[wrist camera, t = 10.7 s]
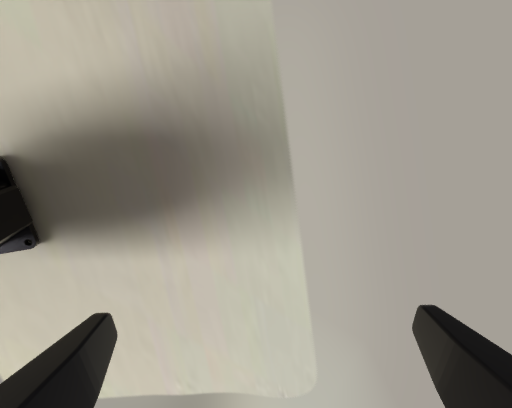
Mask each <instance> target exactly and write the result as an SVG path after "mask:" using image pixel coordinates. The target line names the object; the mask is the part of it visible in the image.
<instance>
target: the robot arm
mask: <svg viewBox="0 0 512 408" xmlns="http://www.w3.org/2000/svg"><path fill="white" fill-rule="evenodd" d="M27 239H29V240H31V241H32V243H29V242H28V240H27ZM38 244H39V238H38V236H37V233H36V231H35V229H34V226H33V224H32V219H31V216H30V214H29V212H28V209H27V207H26V205H25V202H24V200H23V198H22V195H21V193H20V190H19V188H17V186H16V184H15V181H14V179H13V177H12V174H11V172H10V170H9V167H8V165H7V163H6V161H5V160H3V159H2V158H0V254H3V253H9V252H15V251H21V250H27V249H32V248H34V247H35V246H37V245H38ZM412 330H413V334H414V336H415V339H416V341H417V343H418V346H419V349H420V351H421V354H422V356H423V359H424V361H425V364H426V366H427V368H428V371H429V373H430V376H431V378H432V381H433V383H434V385H435V388H436V390H437V392H438V394H439V396H440V398H441V400H442V402H443V404H444V406H445V408H512V355H511V354H510V353H508V352H506V351H505V350H503V349H502V348H500V347H499V346H497V345H496V344H494V343H493V342H491V341H490V340H488V339H486V338H485V337H483V336H482V335H480V334H479V333H477V332H476V331H474V330H473V329H471V328H469V327H468V326H466V325H465V324H463V323H462V322H460V321H459V320H457V319H456V318H454V317H452V316H451V315H449V314H448V313H446V312H445V311H443V310H442V309H440V308H438V307H437V306H435V305H420V306H419V307H418V308H417V311H416V314H415V318H414V321H413V326H412ZM116 341H117V330H116V327H115V324H114V321H113V318H112V316H111V314H110V313H95V314H93V315H92V316H90V317H89V318H88V319H86V320H85V321H84V322H82V323H81V324H80V325H78V326H77V327H76V328H74V329H73V330H72V331H70V332H69V333H68V334H66V335H65V336H64V337H62V338H61V339H60V340H58V341H57V342H56V343H54V344H53V345H52V346H50V347H49V348H48V349H46V350H45V351H44V352H42V353H41V354H40V355H38V356H37V357H36V358H34V359H33V360H32V361H30V362H29V363H28V364H26V365H25V366H24V367H22V368H21V369H20V370H18V371H17V372H16V373H14V374H13V375H12V376H10V377H9V378H8V379H6V380H5V381H4V382H2V383H1V384H0V408H94V406H95V403H96V401H97V399H98V396H99V393H100V390H101V387H102V384H103V381H104V378H105V375H106V372H107V369H108V366H109V363H110V360H111V357H112V353H113V350H114V347H115V344H116Z"/></svg>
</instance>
